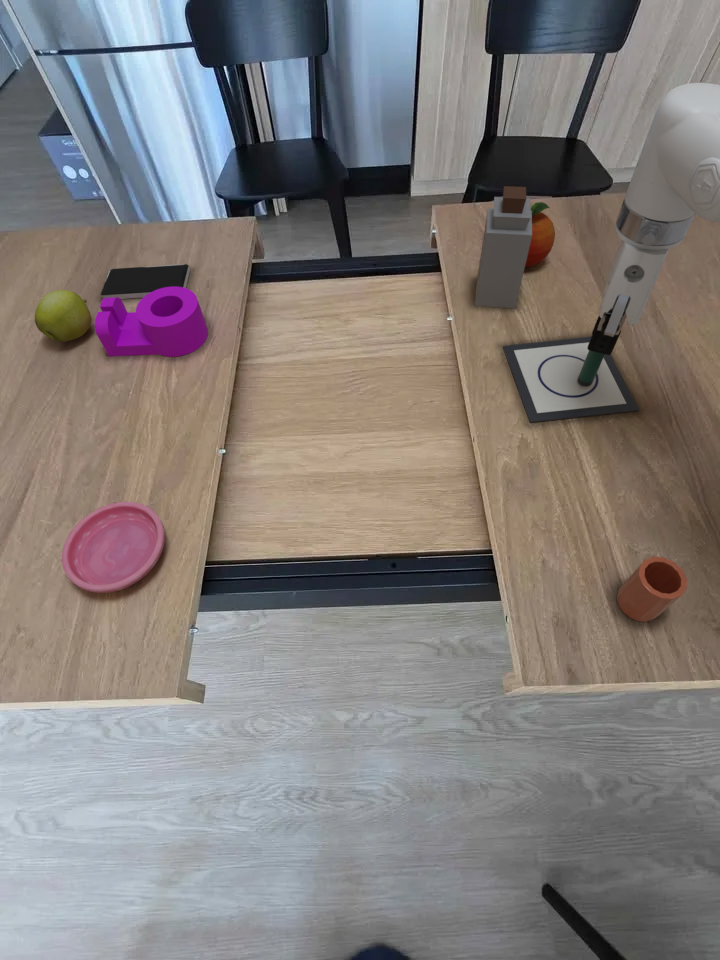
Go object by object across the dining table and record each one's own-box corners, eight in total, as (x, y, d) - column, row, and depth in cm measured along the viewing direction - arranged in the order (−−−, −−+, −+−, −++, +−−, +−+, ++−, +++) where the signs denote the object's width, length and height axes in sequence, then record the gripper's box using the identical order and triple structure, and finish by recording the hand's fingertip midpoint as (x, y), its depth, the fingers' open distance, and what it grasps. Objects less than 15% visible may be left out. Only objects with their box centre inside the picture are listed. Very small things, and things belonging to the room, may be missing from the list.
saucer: (64, 537, 73) (52, 525, 70) (156, 498, 76) (147, 485, 73) (83, 617, 66) (71, 608, 64) (182, 572, 69) (174, 561, 67)
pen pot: (650, 580, 66) (675, 553, 60) (667, 619, 63) (695, 596, 57) (610, 584, 66) (631, 558, 60) (625, 624, 63) (649, 601, 57)
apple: (110, 323, 96) (90, 284, 90) (75, 357, 92) (51, 319, 85) (76, 312, 99) (53, 273, 92) (40, 345, 94) (13, 307, 87)
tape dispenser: (211, 315, 96) (201, 285, 91) (203, 355, 91) (192, 325, 86) (121, 319, 97) (106, 289, 92) (107, 359, 91) (90, 330, 86)
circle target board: (600, 336, 89) (601, 334, 89) (638, 411, 80) (639, 409, 80) (502, 347, 89) (503, 345, 89) (529, 423, 80) (530, 421, 80)
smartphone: (110, 268, 104) (188, 263, 103) (112, 273, 105) (190, 268, 104) (99, 295, 99) (182, 290, 99) (102, 301, 100) (184, 296, 100)
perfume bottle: (515, 308, 94) (538, 206, 79) (475, 305, 95) (491, 204, 80) (515, 283, 98) (538, 181, 83) (476, 281, 99) (492, 179, 84)
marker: (589, 374, 84) (619, 304, 73) (594, 385, 82) (626, 316, 72) (574, 376, 84) (602, 306, 73) (579, 387, 82) (608, 317, 72)
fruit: (485, 253, 103) (493, 200, 95) (528, 238, 105) (540, 186, 97) (514, 281, 98) (525, 229, 90) (558, 266, 100) (574, 213, 92)
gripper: (681, 267, 57) (618, 391, 72) (697, 188, 65) (638, 314, 80) (605, 252, 59) (560, 375, 74) (630, 177, 67) (585, 302, 82)
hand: (601, 343), depth 77 cm, fingers closed on marker, 2 cm apart
